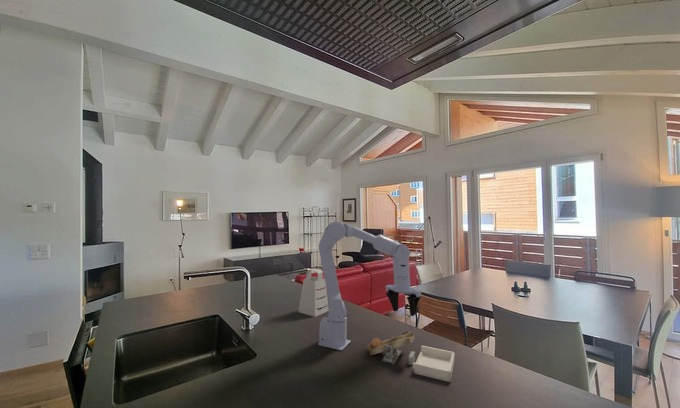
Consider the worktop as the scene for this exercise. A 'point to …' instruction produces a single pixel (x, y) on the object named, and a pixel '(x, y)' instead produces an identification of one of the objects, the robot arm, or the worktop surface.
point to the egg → (376, 342)
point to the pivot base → (396, 355)
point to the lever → (392, 343)
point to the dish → (435, 363)
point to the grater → (313, 294)
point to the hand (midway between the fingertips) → (404, 312)
